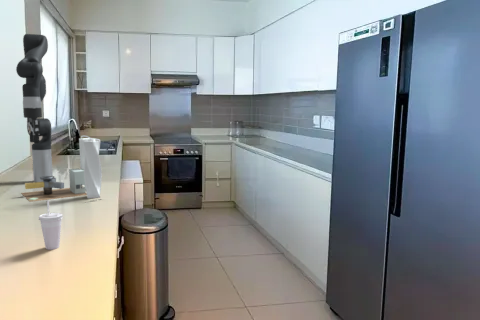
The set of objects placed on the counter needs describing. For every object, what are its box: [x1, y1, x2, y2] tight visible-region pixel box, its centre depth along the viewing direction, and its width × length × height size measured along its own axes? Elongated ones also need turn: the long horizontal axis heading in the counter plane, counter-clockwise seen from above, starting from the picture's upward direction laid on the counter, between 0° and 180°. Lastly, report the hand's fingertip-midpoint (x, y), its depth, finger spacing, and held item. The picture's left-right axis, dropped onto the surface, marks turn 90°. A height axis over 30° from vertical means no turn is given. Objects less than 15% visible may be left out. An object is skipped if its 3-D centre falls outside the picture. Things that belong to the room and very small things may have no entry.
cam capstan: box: [24, 175, 65, 194], centre depth 194 cm, size 16×14×7 cm
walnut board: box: [21, 187, 87, 203], centre depth 196 cm, size 21×24×1 cm
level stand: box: [68, 168, 86, 194], centre depth 200 cm, size 10×4×10 cm, turn 35°
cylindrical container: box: [78, 137, 93, 191], centre depth 206 cm, size 7×7×25 cm
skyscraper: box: [80, 134, 103, 202], centre depth 189 cm, size 8×8×28 cm
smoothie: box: [38, 200, 64, 250], centre depth 127 cm, size 6×6×14 cm
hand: (34, 142), depth 200 cm, fingers open, 8 cm apart
